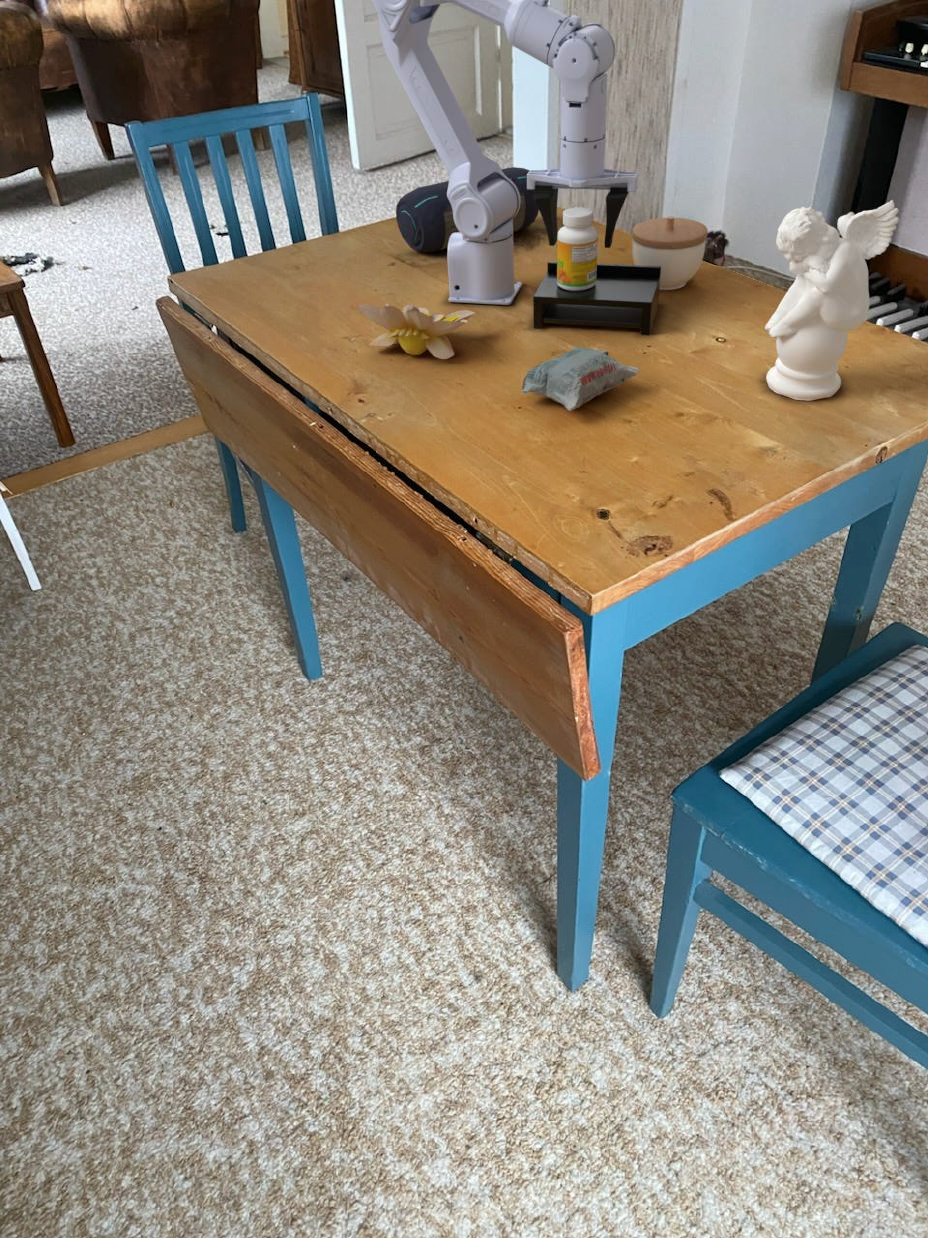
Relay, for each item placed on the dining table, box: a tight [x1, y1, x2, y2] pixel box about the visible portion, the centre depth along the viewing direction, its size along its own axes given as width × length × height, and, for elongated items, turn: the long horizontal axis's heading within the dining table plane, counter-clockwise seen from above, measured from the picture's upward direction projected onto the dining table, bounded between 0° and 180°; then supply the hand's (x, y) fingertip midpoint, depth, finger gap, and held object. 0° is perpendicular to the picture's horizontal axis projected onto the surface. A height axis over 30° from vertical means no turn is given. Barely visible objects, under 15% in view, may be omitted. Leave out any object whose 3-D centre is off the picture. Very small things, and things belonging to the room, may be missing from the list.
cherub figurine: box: [764, 199, 900, 402], centre depth 109 cm, size 12×12×22 cm
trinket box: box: [631, 216, 709, 291], centre depth 139 cm, size 11×11×9 cm
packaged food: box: [521, 346, 639, 412], centre depth 115 cm, size 9×12×5 cm
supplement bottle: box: [556, 206, 599, 291], centre depth 129 cm, size 5×5×10 cm
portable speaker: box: [395, 166, 540, 253], centre depth 158 cm, size 25×10×10 cm, turn 119°
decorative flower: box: [355, 303, 475, 360], centre depth 126 cm, size 15×11×10 cm
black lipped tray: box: [532, 261, 661, 336], centre depth 132 cm, size 16×10×6 cm, turn 74°
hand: (580, 244), depth 131 cm, fingers open, 7 cm apart
